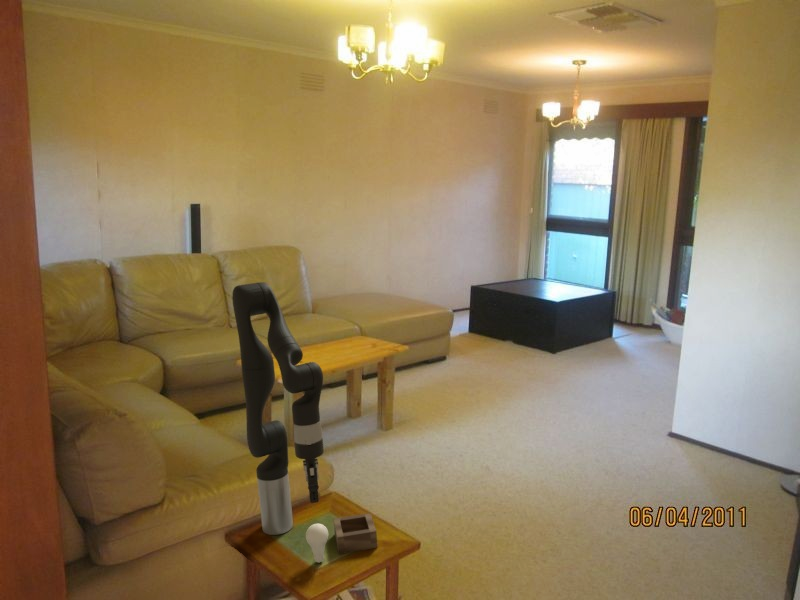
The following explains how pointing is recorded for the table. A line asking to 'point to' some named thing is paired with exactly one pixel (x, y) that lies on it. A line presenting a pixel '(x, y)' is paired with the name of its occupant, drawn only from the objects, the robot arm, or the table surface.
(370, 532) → the socket block
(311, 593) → the table surface
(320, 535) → the lightbulb
